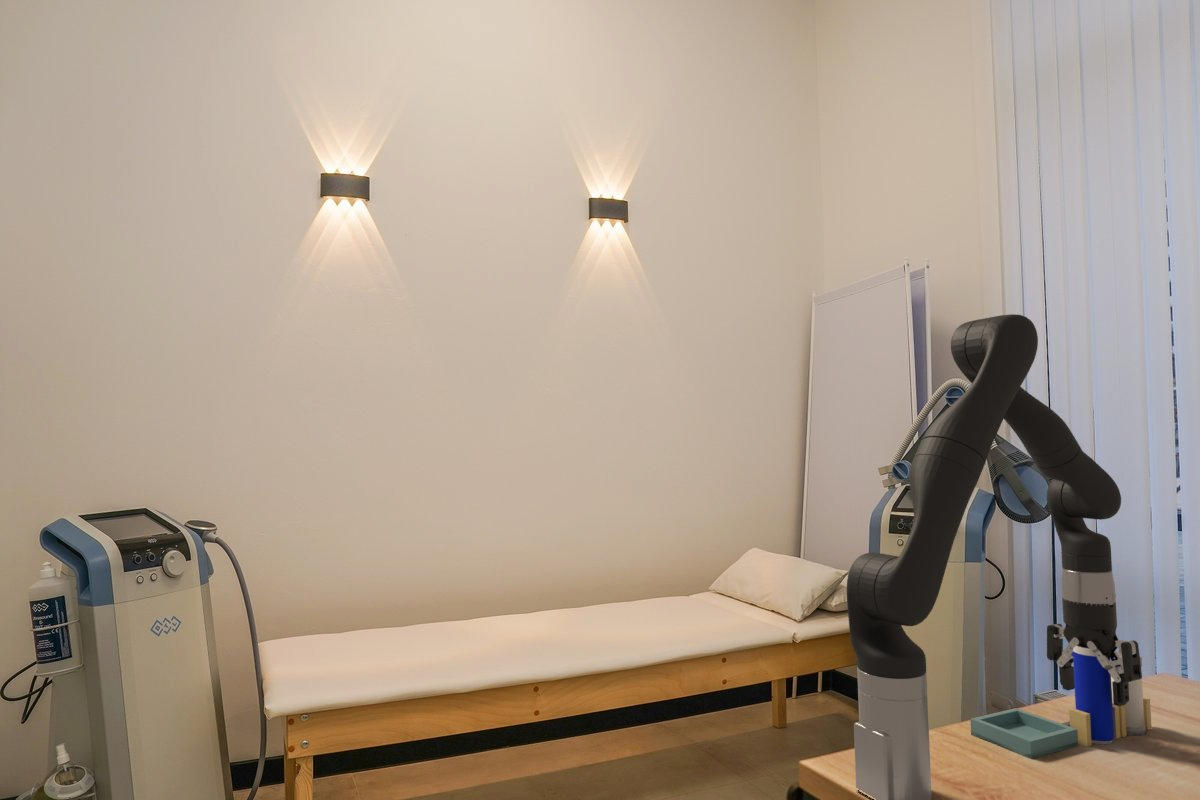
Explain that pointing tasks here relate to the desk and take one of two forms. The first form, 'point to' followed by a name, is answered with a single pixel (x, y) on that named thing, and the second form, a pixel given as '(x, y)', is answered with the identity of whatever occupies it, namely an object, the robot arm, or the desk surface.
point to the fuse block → (1083, 726)
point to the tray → (1024, 732)
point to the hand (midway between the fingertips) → (1093, 696)
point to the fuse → (1134, 706)
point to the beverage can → (1094, 694)
